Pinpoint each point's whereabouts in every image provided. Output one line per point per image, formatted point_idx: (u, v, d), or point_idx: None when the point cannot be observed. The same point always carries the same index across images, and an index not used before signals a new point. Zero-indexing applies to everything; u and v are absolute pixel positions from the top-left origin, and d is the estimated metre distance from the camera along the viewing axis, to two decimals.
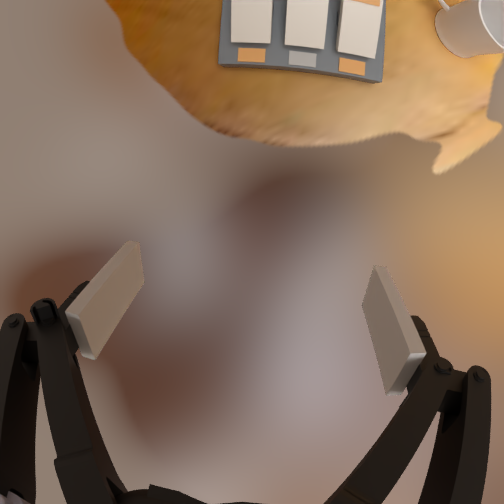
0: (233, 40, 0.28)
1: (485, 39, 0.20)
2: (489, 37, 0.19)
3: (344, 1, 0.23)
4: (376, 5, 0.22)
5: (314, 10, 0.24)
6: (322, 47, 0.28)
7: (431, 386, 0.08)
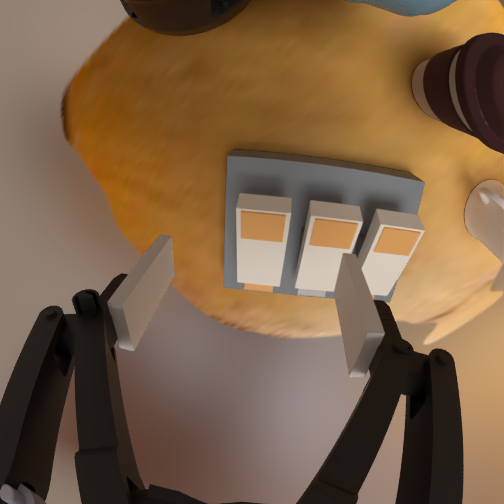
0: (239, 281, 0.32)
1: None
2: None
3: (369, 252, 0.26)
4: (405, 253, 0.26)
5: (332, 261, 0.28)
6: None
7: (392, 367, 0.09)
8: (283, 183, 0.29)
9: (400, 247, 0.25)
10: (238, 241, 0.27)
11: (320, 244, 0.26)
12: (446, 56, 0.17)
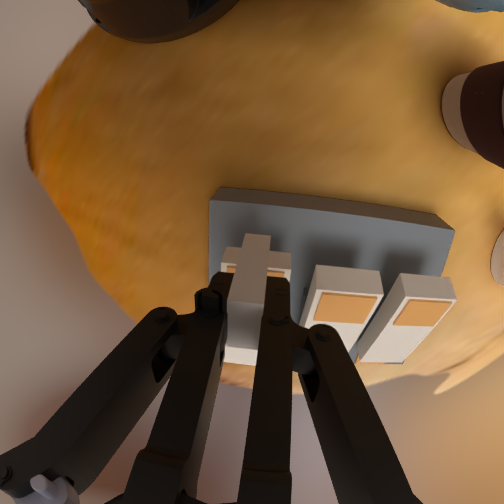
0: (225, 360, 0.24)
1: None
2: None
3: (387, 324, 0.20)
4: (429, 323, 0.20)
5: (341, 335, 0.22)
6: None
7: (274, 340, 0.11)
8: (281, 235, 0.23)
9: (425, 319, 0.19)
10: None
11: (327, 319, 0.20)
12: (495, 73, 0.12)
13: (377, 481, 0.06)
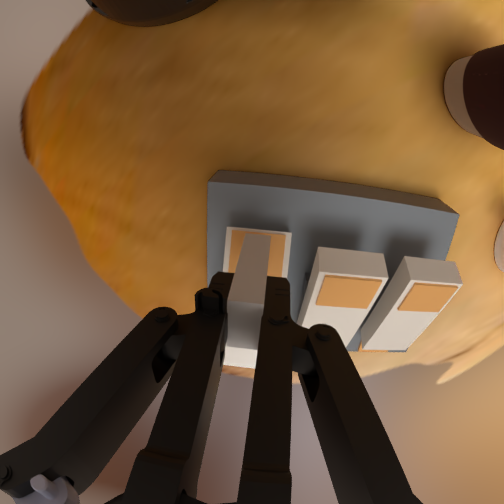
0: None
1: None
2: None
3: (391, 310, 0.20)
4: (434, 309, 0.19)
5: (344, 321, 0.21)
6: None
7: (274, 340, 0.11)
8: (282, 218, 0.22)
9: (430, 304, 0.18)
10: None
11: (329, 304, 0.19)
12: (498, 54, 0.11)
13: (377, 481, 0.06)
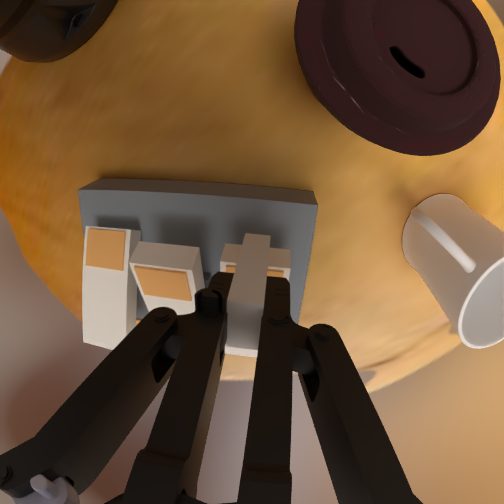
0: (85, 340, 0.23)
1: None
2: None
3: None
4: None
5: (182, 313, 0.23)
6: None
7: (274, 340, 0.11)
8: (132, 217, 0.24)
9: None
10: (84, 271, 0.23)
11: (154, 294, 0.21)
12: None
13: (377, 481, 0.06)
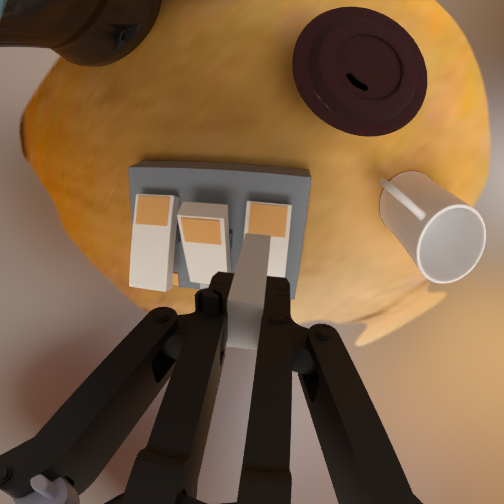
0: (131, 284, 0.31)
1: None
2: (422, 273, 0.25)
3: None
4: (281, 236, 0.30)
5: (212, 257, 0.31)
6: None
7: (274, 340, 0.11)
8: (173, 188, 0.32)
9: (272, 226, 0.30)
10: (134, 229, 0.31)
11: (193, 240, 0.29)
12: None
13: (377, 481, 0.06)
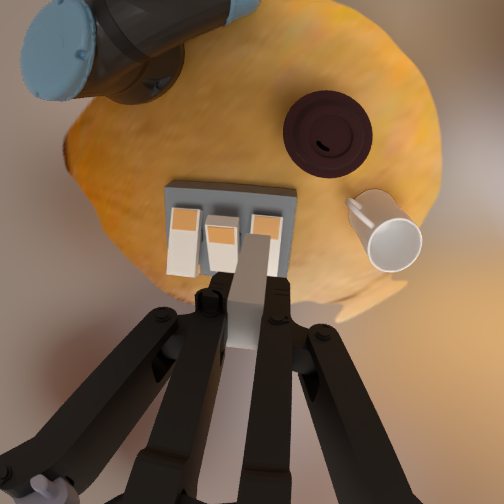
0: (168, 272, 0.45)
1: None
2: (374, 265, 0.39)
3: None
4: (275, 238, 0.43)
5: (227, 252, 0.45)
6: None
7: (274, 340, 0.11)
8: (198, 203, 0.46)
9: (269, 232, 0.43)
10: (170, 232, 0.45)
11: (215, 241, 0.43)
12: None
13: (377, 481, 0.06)
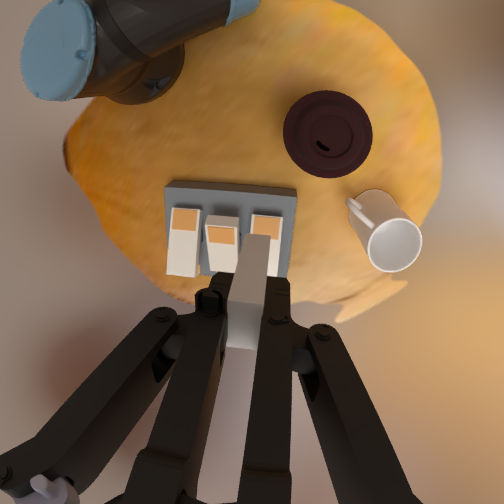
0: (168, 272, 0.45)
1: None
2: None
3: None
4: (275, 238, 0.43)
5: (227, 252, 0.45)
6: None
7: (274, 340, 0.11)
8: (198, 203, 0.46)
9: (269, 232, 0.43)
10: (170, 232, 0.45)
11: (215, 241, 0.43)
12: None
13: (377, 481, 0.06)
